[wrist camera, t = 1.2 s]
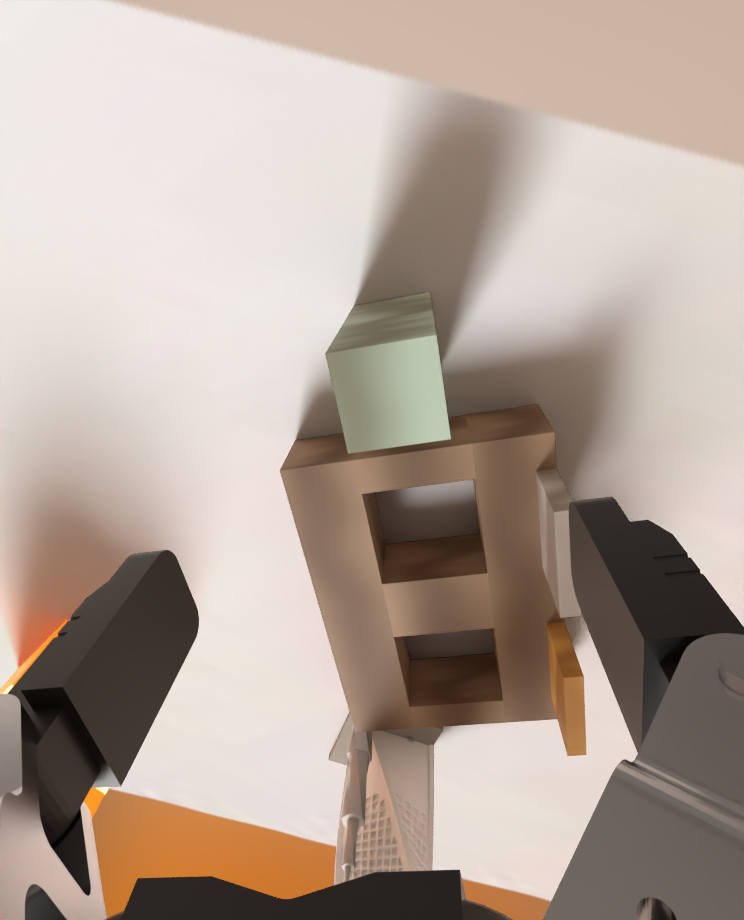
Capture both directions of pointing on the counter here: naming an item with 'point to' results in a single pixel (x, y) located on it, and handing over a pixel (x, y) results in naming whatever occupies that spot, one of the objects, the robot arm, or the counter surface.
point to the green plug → (389, 375)
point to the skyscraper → (385, 800)
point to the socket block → (446, 577)
